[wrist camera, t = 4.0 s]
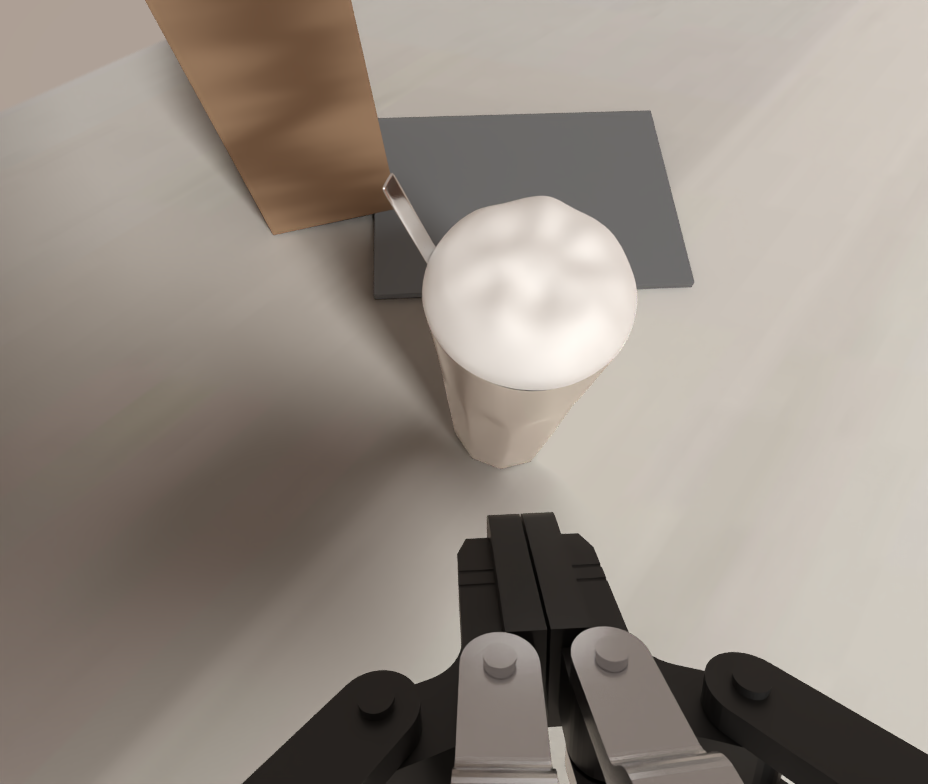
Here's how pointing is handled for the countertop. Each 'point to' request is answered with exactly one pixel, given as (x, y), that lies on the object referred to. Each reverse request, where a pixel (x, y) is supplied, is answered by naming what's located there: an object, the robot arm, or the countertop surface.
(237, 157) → the walnut block
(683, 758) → the robot arm
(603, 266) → the milkshake
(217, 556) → the countertop surface
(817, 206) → the countertop surface
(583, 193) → the mat
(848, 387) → the countertop surface
